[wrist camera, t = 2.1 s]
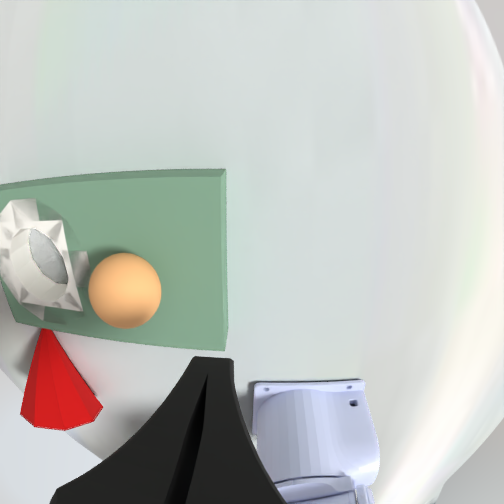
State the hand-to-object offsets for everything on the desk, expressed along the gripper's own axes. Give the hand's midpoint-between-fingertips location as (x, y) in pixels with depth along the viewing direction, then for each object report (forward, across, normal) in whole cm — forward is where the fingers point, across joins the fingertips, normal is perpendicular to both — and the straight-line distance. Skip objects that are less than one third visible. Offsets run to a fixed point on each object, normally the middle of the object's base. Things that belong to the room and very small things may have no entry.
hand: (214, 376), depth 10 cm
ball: (+5, +6, 0) cm, 8 cm away
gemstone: (+10, +18, +12) cm, 24 cm away
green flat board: (+10, +10, 0) cm, 14 cm away
